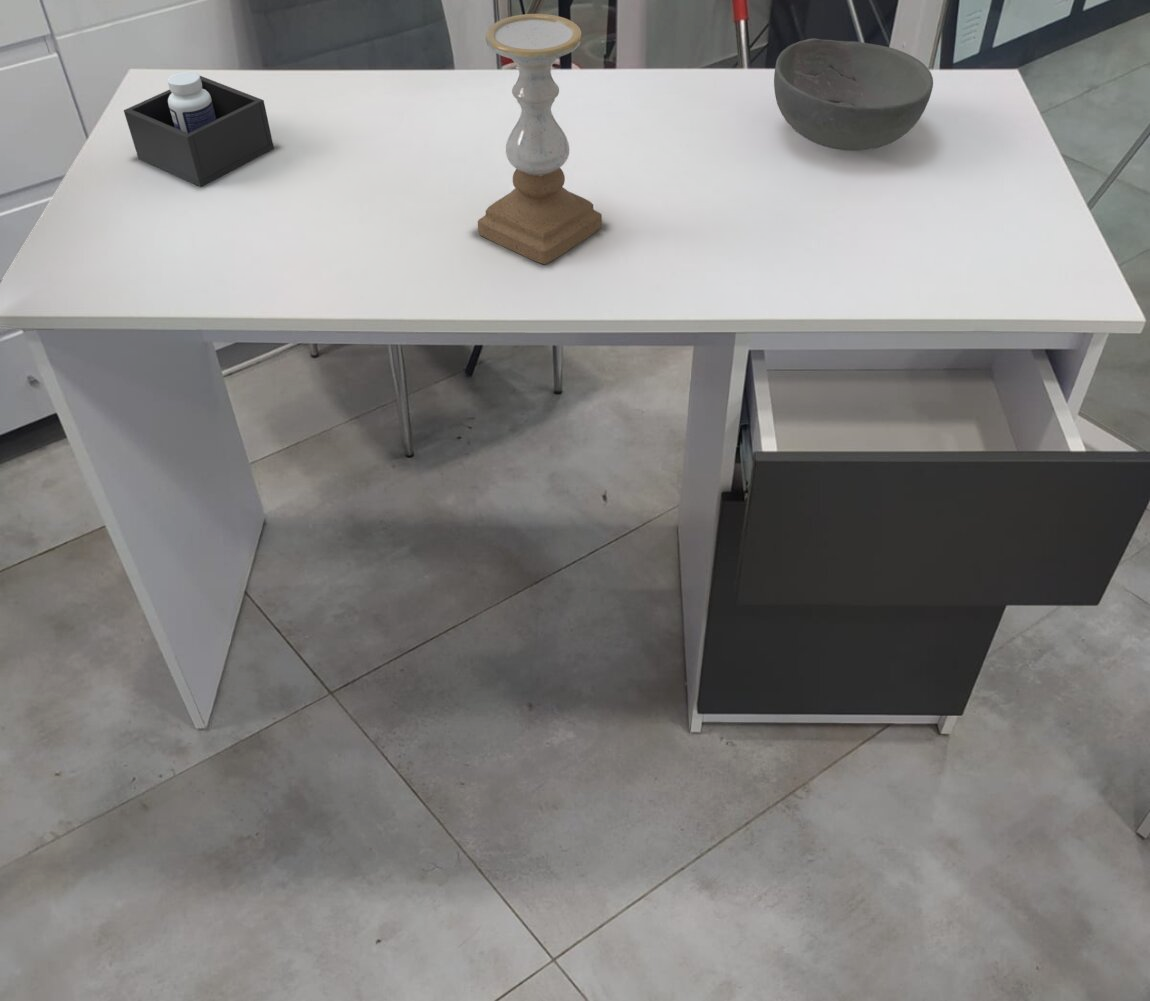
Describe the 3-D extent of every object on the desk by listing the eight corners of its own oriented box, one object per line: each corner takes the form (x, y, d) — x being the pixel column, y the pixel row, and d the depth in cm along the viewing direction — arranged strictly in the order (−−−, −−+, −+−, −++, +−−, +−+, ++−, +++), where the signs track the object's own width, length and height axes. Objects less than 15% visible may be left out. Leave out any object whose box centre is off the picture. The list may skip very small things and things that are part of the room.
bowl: (811, 188, 141) (823, 113, 134) (741, 119, 155) (749, 47, 147) (949, 161, 146) (967, 87, 138) (869, 96, 159) (882, 25, 152)
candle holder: (545, 265, 129) (538, 62, 112) (476, 234, 134) (460, 35, 117) (604, 226, 135) (606, 28, 118) (536, 197, 140) (529, 3, 123)
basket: (200, 187, 142) (187, 137, 138) (138, 158, 148) (123, 110, 143) (274, 148, 150) (263, 99, 145) (212, 123, 155) (200, 75, 150)
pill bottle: (230, 142, 149) (213, 71, 142) (210, 161, 146) (191, 89, 139) (194, 137, 150) (175, 66, 143) (174, 156, 147) (153, 84, 140)
